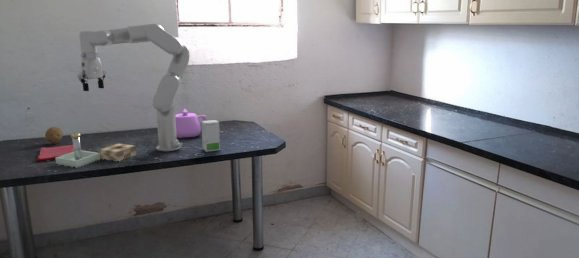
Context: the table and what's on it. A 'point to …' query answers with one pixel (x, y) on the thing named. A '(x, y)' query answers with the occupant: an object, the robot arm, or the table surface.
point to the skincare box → (210, 135)
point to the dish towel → (54, 152)
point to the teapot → (188, 124)
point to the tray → (70, 160)
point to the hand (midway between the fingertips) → (93, 89)
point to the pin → (76, 145)
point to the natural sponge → (53, 135)
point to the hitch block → (117, 152)
